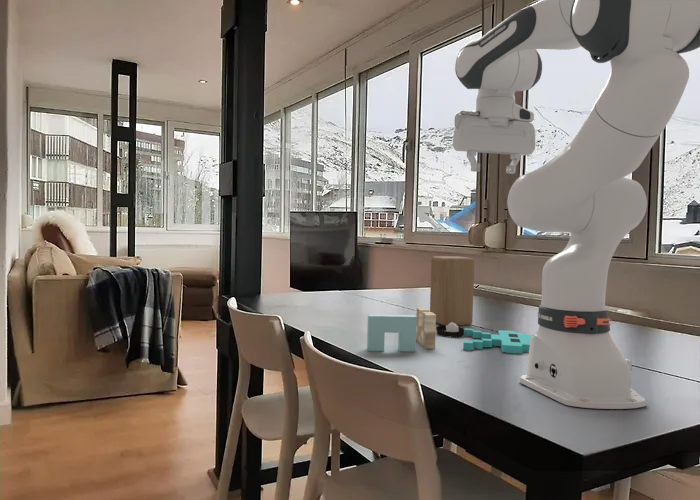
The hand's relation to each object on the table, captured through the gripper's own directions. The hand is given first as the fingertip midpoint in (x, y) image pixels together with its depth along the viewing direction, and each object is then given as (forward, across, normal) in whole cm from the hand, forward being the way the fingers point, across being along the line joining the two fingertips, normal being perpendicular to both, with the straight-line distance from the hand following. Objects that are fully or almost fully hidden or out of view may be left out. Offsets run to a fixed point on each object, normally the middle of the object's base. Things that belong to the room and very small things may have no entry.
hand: (493, 172), depth 135 cm
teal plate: (+42, -23, +3) cm, 48 cm away
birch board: (+42, -12, +9) cm, 44 cm away
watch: (+42, -1, +18) cm, 46 cm away
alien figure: (+42, +7, +4) cm, 43 cm away
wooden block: (+42, +9, +36) cm, 56 cm away
